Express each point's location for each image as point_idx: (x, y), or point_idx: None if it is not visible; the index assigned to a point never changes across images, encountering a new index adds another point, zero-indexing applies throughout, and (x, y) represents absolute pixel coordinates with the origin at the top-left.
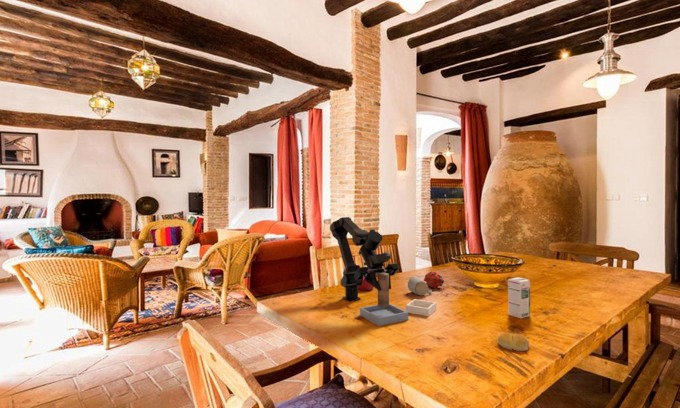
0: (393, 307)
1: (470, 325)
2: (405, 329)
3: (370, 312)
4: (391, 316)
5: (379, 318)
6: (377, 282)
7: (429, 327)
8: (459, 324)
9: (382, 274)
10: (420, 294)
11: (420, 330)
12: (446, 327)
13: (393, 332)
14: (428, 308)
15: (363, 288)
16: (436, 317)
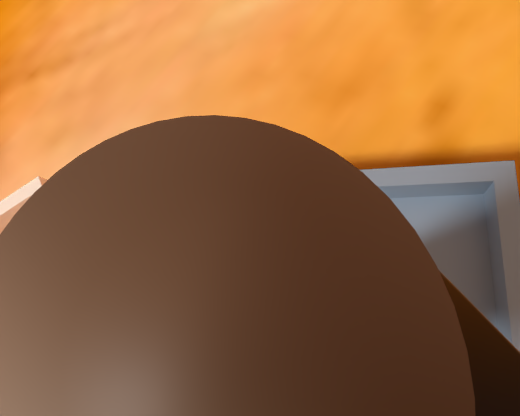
0: None
1: (28, 7)
2: (343, 65)
3: (513, 342)
4: (363, 171)
5: (501, 163)
6: (471, 363)
7: (199, 46)
8: (53, 32)
9: (247, 313)
10: None
11: (272, 25)
12: (129, 19)
13: (449, 48)
14: (32, 183)
15: None
16: (56, 159)
